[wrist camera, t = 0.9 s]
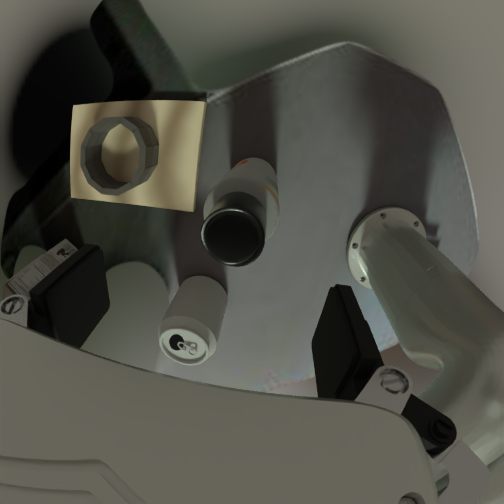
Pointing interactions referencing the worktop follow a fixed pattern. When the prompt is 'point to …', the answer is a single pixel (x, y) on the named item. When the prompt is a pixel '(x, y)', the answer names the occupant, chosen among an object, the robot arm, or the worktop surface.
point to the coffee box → (38, 270)
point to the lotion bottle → (241, 213)
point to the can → (193, 321)
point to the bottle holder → (137, 152)
